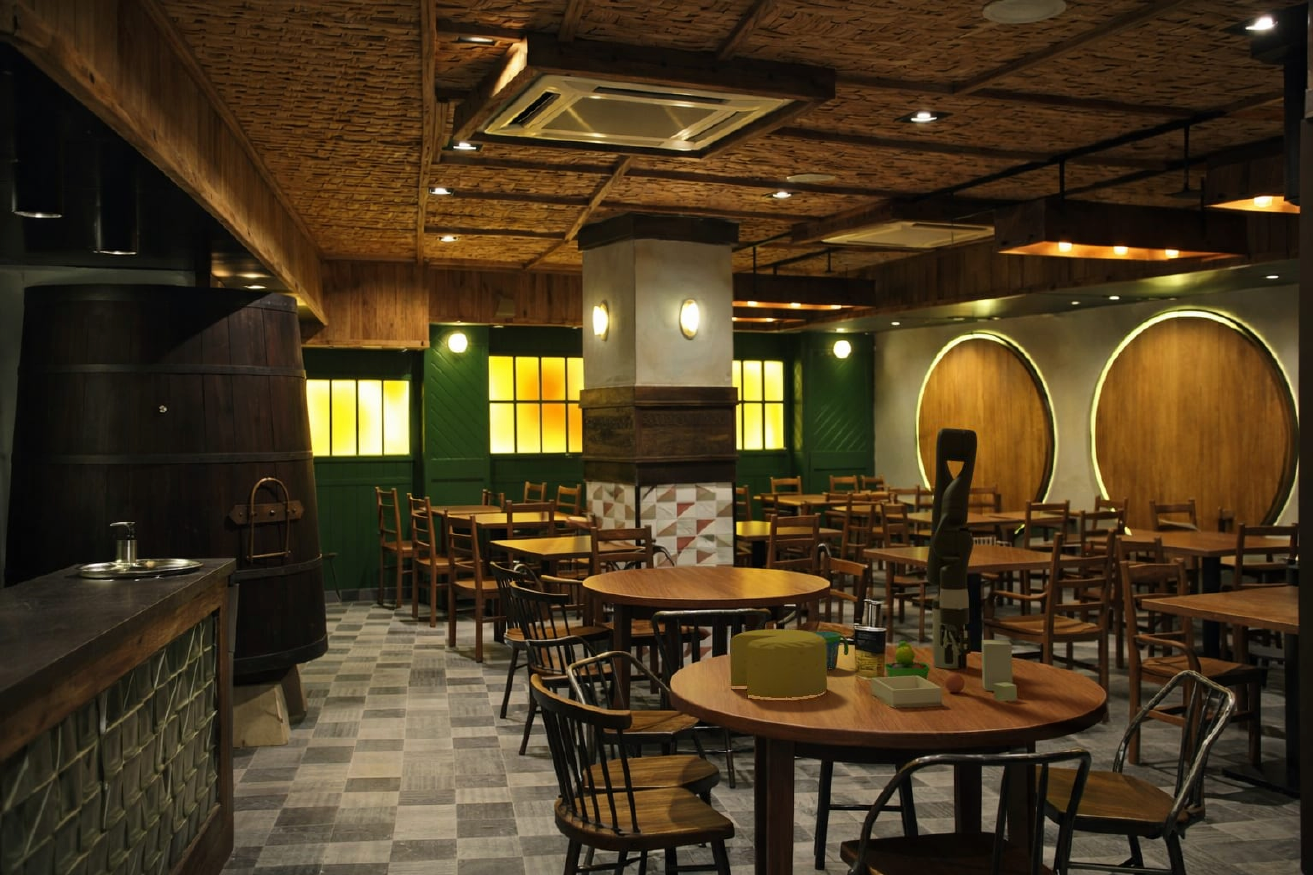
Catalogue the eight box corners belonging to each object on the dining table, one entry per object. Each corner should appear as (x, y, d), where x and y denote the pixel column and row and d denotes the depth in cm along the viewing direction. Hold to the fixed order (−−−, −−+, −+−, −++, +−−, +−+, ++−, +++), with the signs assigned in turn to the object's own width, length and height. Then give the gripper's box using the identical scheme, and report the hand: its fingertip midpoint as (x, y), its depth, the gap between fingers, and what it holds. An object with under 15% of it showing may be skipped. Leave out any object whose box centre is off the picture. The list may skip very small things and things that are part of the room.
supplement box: (1013, 691, 302) (1012, 644, 302) (984, 690, 303) (983, 643, 304) (1010, 685, 309) (1009, 639, 309) (982, 685, 311) (981, 639, 311)
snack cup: (803, 672, 332) (802, 637, 332) (793, 666, 342) (792, 632, 342) (854, 670, 334) (853, 635, 334) (843, 663, 345) (842, 630, 345)
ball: (942, 690, 304) (941, 672, 305) (959, 689, 305) (959, 671, 305) (949, 694, 300) (949, 675, 300) (967, 693, 300) (967, 674, 300)
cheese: (715, 696, 303) (714, 640, 303) (753, 677, 326) (752, 625, 326) (807, 705, 291) (806, 646, 291) (840, 685, 314) (839, 631, 314)
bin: (871, 694, 301) (871, 677, 301) (918, 692, 303) (917, 675, 303) (893, 708, 285) (892, 690, 285) (942, 705, 287) (941, 687, 287)
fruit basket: (888, 686, 311) (888, 645, 311) (883, 680, 320) (883, 640, 320) (930, 686, 310) (929, 645, 310) (924, 679, 319) (923, 639, 319)
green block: (994, 699, 294) (993, 683, 294) (1006, 697, 296) (1005, 682, 296) (1004, 702, 290) (1004, 686, 290) (1016, 700, 292) (1016, 685, 292)
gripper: (930, 602, 309) (931, 662, 308) (952, 609, 295) (953, 671, 294) (956, 601, 310) (957, 661, 310) (979, 608, 296) (980, 670, 296)
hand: (955, 666), depth 302 cm, fingers open, 8 cm apart
